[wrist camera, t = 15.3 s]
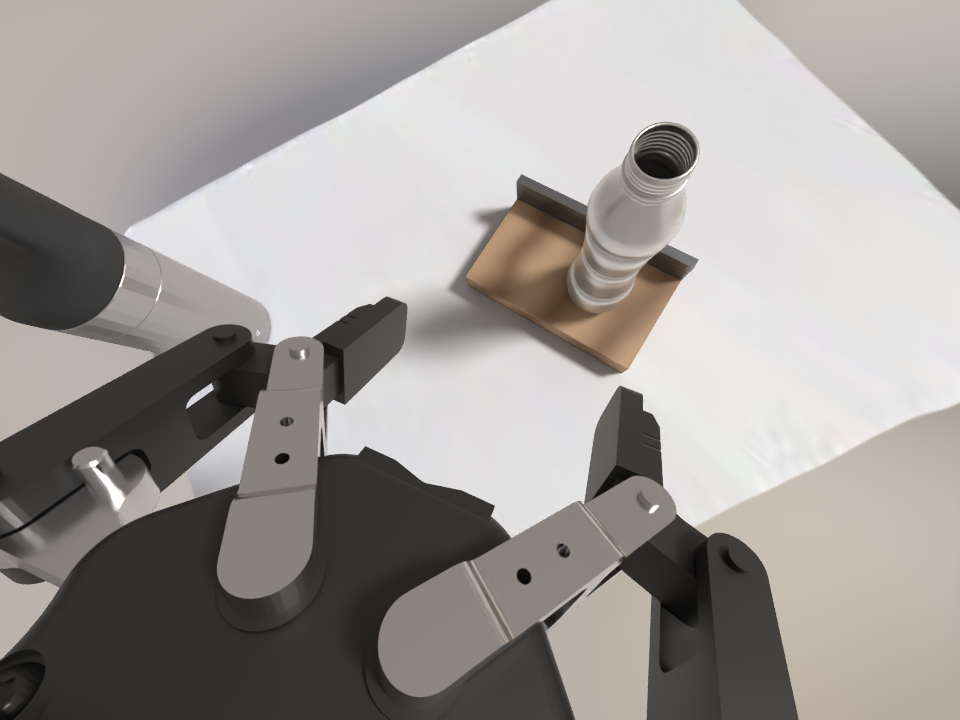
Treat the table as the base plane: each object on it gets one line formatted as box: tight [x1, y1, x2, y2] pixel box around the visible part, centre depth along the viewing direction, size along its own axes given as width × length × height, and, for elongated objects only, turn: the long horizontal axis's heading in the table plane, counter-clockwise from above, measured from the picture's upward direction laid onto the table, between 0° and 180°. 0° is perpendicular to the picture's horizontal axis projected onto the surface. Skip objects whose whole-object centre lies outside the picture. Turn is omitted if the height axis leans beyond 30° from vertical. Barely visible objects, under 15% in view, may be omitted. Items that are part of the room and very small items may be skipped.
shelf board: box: [465, 199, 681, 373], centre depth 41 cm, size 20×12×2 cm, turn 57°
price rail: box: [517, 174, 698, 280], centre depth 39 cm, size 20×2×3 cm, turn 57°
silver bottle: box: [567, 122, 700, 313], centre depth 30 cm, size 6×7×20 cm
